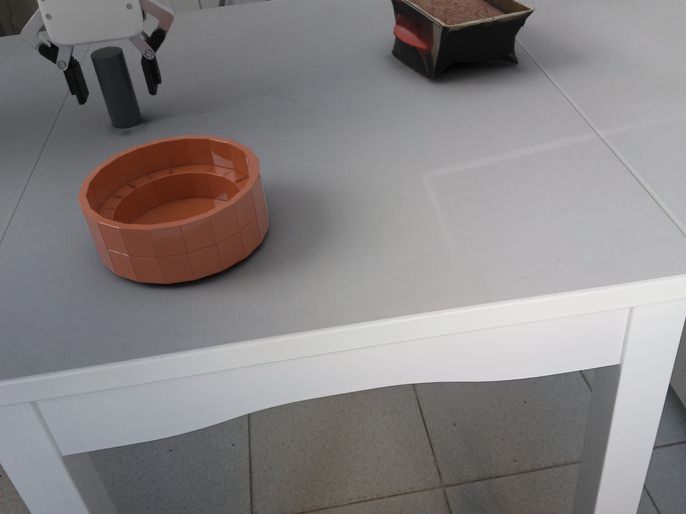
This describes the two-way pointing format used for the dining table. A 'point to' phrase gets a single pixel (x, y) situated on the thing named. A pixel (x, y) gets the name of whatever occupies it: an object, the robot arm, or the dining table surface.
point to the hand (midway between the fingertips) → (119, 94)
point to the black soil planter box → (456, 32)
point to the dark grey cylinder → (116, 86)
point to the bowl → (176, 208)
